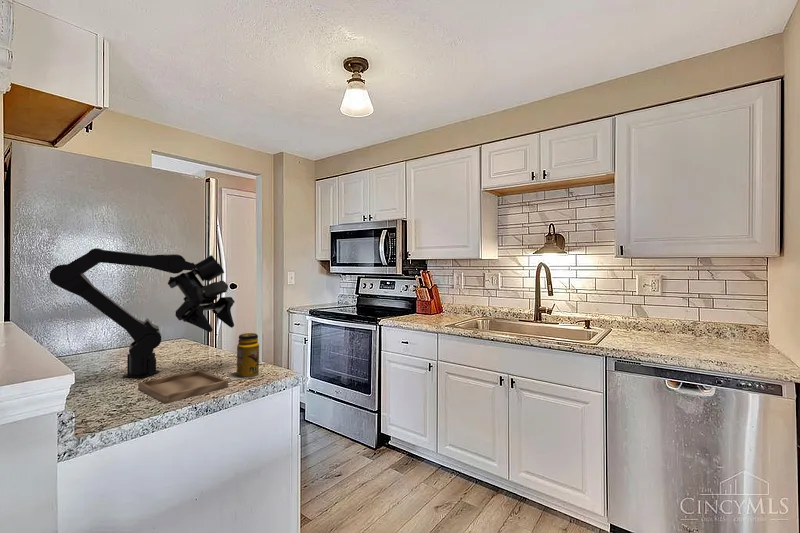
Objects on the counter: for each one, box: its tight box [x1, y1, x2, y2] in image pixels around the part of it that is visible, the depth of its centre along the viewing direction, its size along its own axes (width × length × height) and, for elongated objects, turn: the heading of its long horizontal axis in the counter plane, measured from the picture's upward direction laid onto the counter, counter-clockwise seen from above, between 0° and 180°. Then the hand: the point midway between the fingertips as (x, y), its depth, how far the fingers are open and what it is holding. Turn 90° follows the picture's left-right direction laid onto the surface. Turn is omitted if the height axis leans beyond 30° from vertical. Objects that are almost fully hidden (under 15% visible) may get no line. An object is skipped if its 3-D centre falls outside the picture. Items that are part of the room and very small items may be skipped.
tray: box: [137, 369, 229, 404], centre depth 102 cm, size 16×16×2 cm
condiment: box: [226, 332, 263, 381], centre depth 115 cm, size 7×8×12 cm
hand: (222, 328), depth 116 cm, fingers open, 9 cm apart
